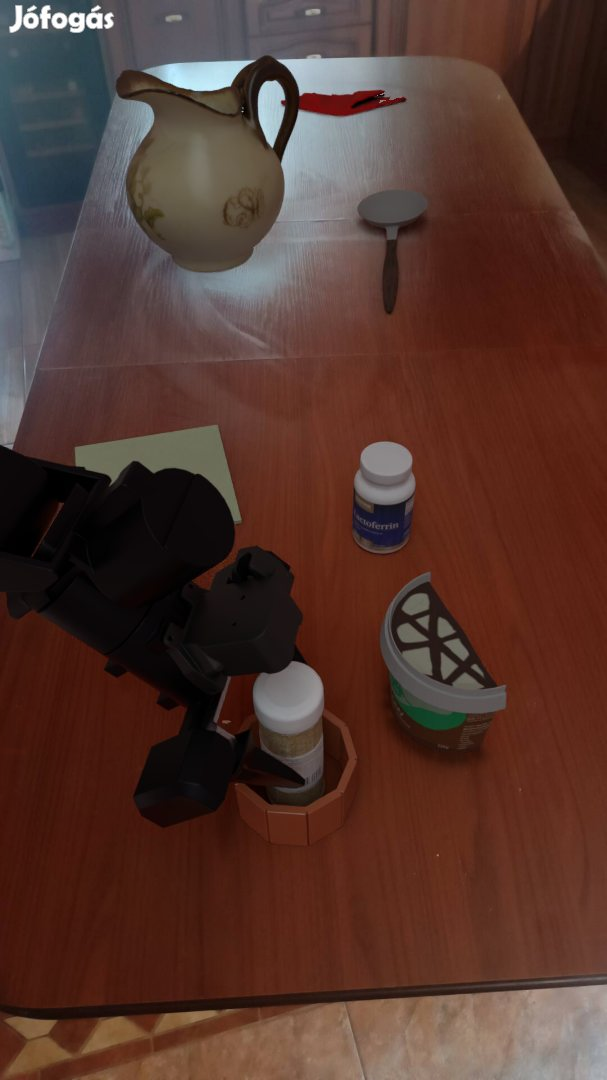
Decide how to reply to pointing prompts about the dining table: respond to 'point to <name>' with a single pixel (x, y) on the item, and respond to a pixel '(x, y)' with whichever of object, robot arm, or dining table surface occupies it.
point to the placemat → (166, 457)
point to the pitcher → (208, 166)
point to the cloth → (344, 102)
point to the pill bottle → (383, 498)
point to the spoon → (392, 228)
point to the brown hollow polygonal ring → (318, 816)
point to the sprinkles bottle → (292, 729)
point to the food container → (436, 673)
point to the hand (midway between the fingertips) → (311, 738)
